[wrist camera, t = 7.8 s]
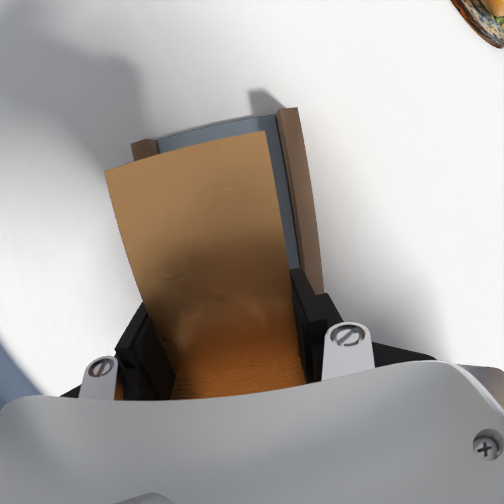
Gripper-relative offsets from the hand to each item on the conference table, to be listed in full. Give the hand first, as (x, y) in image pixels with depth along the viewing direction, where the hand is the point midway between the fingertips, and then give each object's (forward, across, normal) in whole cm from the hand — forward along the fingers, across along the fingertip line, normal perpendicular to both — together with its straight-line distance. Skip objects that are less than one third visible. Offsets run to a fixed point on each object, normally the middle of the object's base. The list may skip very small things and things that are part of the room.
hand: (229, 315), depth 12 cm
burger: (+12, -33, -24) cm, 42 cm away
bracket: (+1, 0, -2) cm, 2 cm away
